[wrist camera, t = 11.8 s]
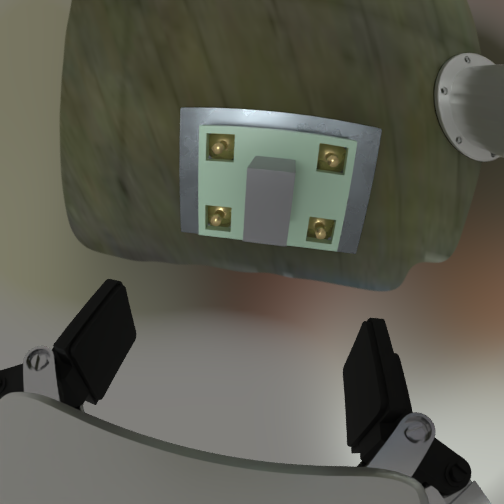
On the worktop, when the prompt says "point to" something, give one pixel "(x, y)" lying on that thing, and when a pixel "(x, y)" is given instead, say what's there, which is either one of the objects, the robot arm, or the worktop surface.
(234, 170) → the board
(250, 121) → the plate
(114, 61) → the worktop surface
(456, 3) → the worktop surface
